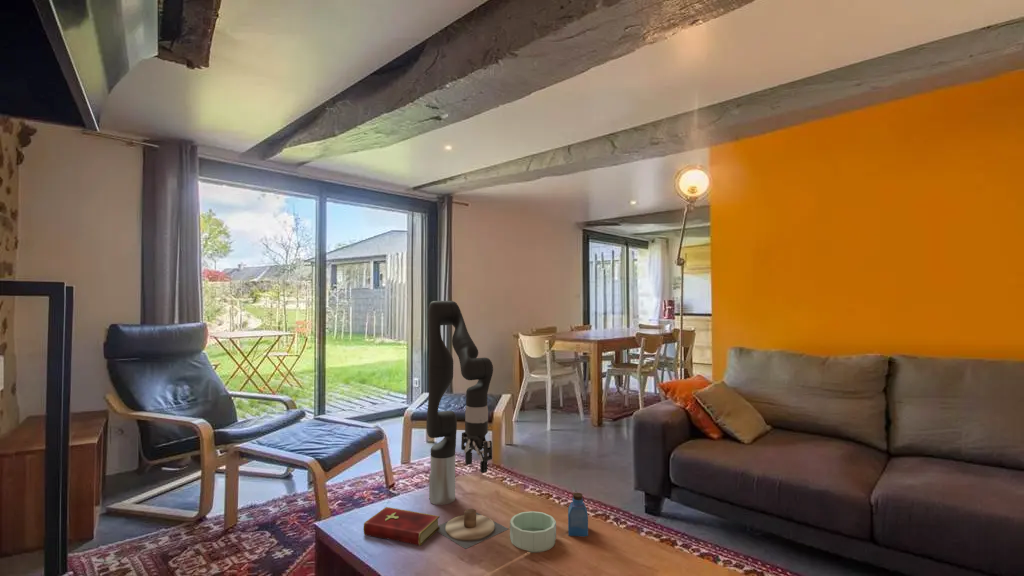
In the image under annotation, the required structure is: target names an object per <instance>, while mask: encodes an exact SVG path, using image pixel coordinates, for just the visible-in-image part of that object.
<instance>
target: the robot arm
mask: <svg viewBox="0 0 1024 576" xmlns="http://www.w3.org/2000/svg"><path fill="white" fill-rule="evenodd" d="M427 319H428V321H427V322H428V324H427V325H428V336H429V341H428V342H429V345H428V346H429V349H428V350H429V352H428V353H429V355H428V400H427V401H428V402H427V411H426V412H427V413H426V423H425V424H426V433H427V435H428V438H431V439H437V438H438V439H439V438H442V439H441V440H440V441H439V442H438V443H435V444H434V445H432V446H431V448H430V473H429V474H428V475H429V478H428V479H429V481H428V482H429V484H428V485H429V486H428V488H429V489H428V490H429V492H428V496H429V498H428V499H429V500H430V501H429V502H430V503H431V504H432V505H435V506H436V505H440V506H441V505H448V504H452V503H453V502H454V501H456V450H457V447H456V446H457V428H458V424H457V423H458V420H457V414H456V413H455V412H454V411H453V410H445V411H439V407H440V403H441V401H442V399H443V397H444V395H445V393H446V391H447V390H448V388H449V387H450V386H451V383H452V381H453V378H454V358H453V356H452V354H451V352H450V351H449V349H448V347H447V346H446V344H445V342H444V340H443V338H442V335H441V333H442V332H441V326H453V328H454V332H453V335H452V338H451V344H452V347H453V350H454V351H455V353H456V356H457V357H458V361H459V365H460V366H459V367H460V374H461V376H462V377H463V379H465V380H467V381H476V380H477V382H476V384H474V385H472V386H470V387H468V388H467V389H466V392H465V411H464V419H465V420H464V432H461V441H460V442H461V444H460V446H461V447H460V448H461V451H463V452H464V454H465V456H464V457H465V458H464V461H465V462H464V463H465V465H467V466H470V465H472V464H473V450H474V451H475V452H476V454H477V456H479V458H480V466H479V468H480V471H479V472H480V473H481V474H484V473H487V471H488V462H489V461H491V460H493V443H492V440H487V439H486V435H487V434H488V433H489V408H488V393H489V390H490V385H491V384H490V383H491V381H492V377H493V373H494V366H493V362H492V360H491V359H490V358H488V357H478V356H479V349H478V347H477V346H476V344H475V343H474V341H473V339H472V337H471V335H470V333H469V331H468V328H467V325H466V322H465V320H464V316H463V314H462V311H461V309H460V307H459V304H458V303H457V302H455V301H454V300H433V301H431V302H429V306H428V310H427Z"/></svg>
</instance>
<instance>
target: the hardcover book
mask: <svg viewBox="0 0 1024 576" xmlns="http://www.w3.org/2000/svg"><path fill="white" fill-rule="evenodd" d="M439 518H440V515H435V514H429V513H424V512H417V511H413V510H412V511H411V510H407V509H401V508H394V507H389V506H386V507H384V508H383V509H381V510H379V511H378V512H377V513H375V514H374V515H373V516H372V517H370V518H369V519H368V520H367V519H366V521H365V522H363V535H364V536H369V537H374V538H378V539H383V540H392V541H396V542H401V543H406V544H411V545H413V546H414V545H415V546H420V547H421V546H422V545H423V544H424V543H425V542H426V541H428V540H429V539H430V538H431V537H432V536H433V535H435V533H437V530H438V529H439V528H440V527H438V525H439Z"/></svg>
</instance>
